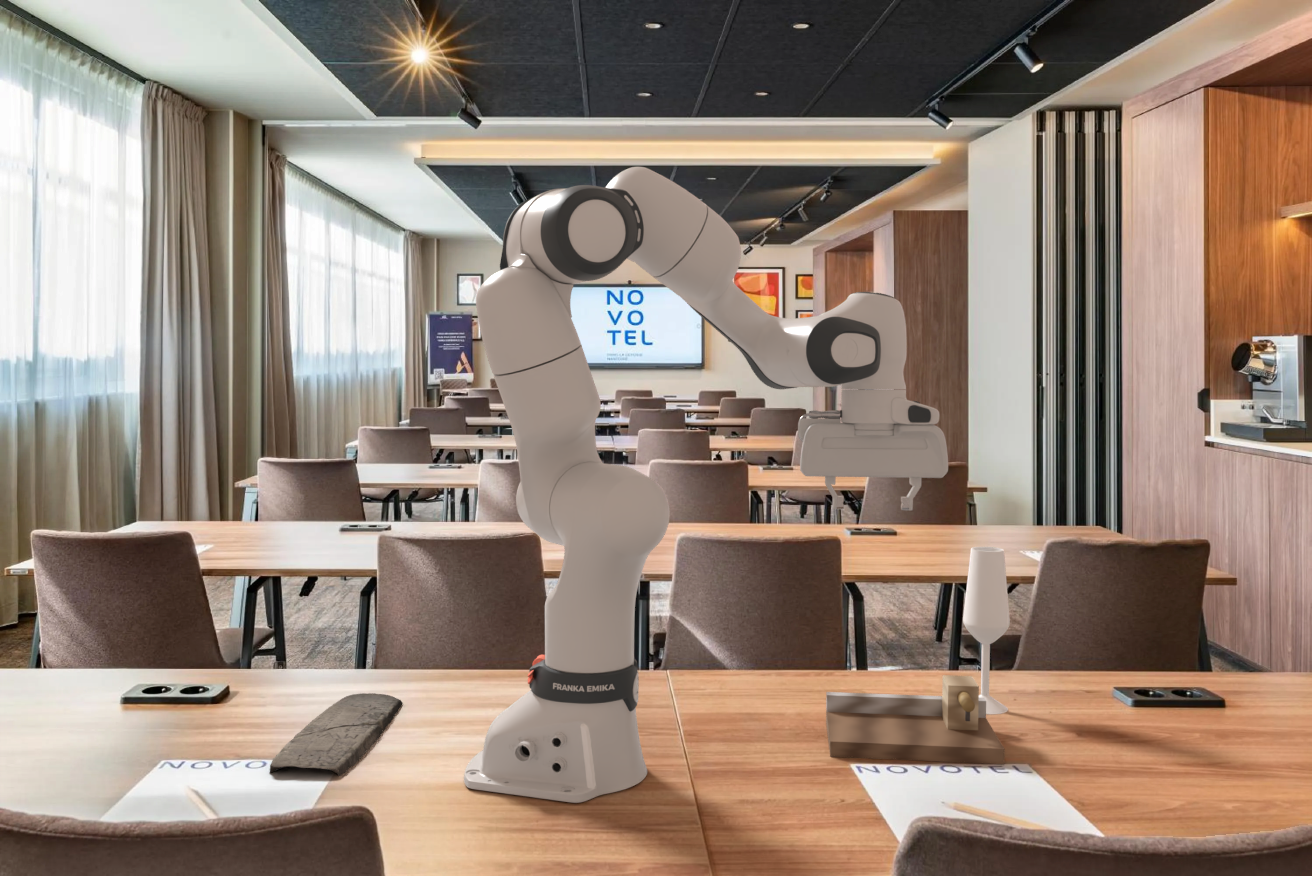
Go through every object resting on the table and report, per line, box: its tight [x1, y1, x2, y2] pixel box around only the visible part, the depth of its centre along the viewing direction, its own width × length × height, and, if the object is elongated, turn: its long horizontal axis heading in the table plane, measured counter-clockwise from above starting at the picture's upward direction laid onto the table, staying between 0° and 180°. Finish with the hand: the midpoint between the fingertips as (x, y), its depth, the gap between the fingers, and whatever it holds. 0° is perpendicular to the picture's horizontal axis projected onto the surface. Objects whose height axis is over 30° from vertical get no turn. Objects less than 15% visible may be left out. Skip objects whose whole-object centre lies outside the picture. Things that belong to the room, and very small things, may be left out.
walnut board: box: [825, 691, 1005, 765], centre depth 141 cm, size 22×14×4 cm, turn 83°
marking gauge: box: [941, 674, 980, 730], centre depth 140 cm, size 4×9×6 cm, turn 173°
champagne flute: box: [962, 546, 1011, 715], centre depth 156 cm, size 7×7×24 cm
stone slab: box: [269, 692, 404, 777], centre depth 143 cm, size 10×3×30 cm
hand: (872, 509), depth 145 cm, fingers open, 8 cm apart
